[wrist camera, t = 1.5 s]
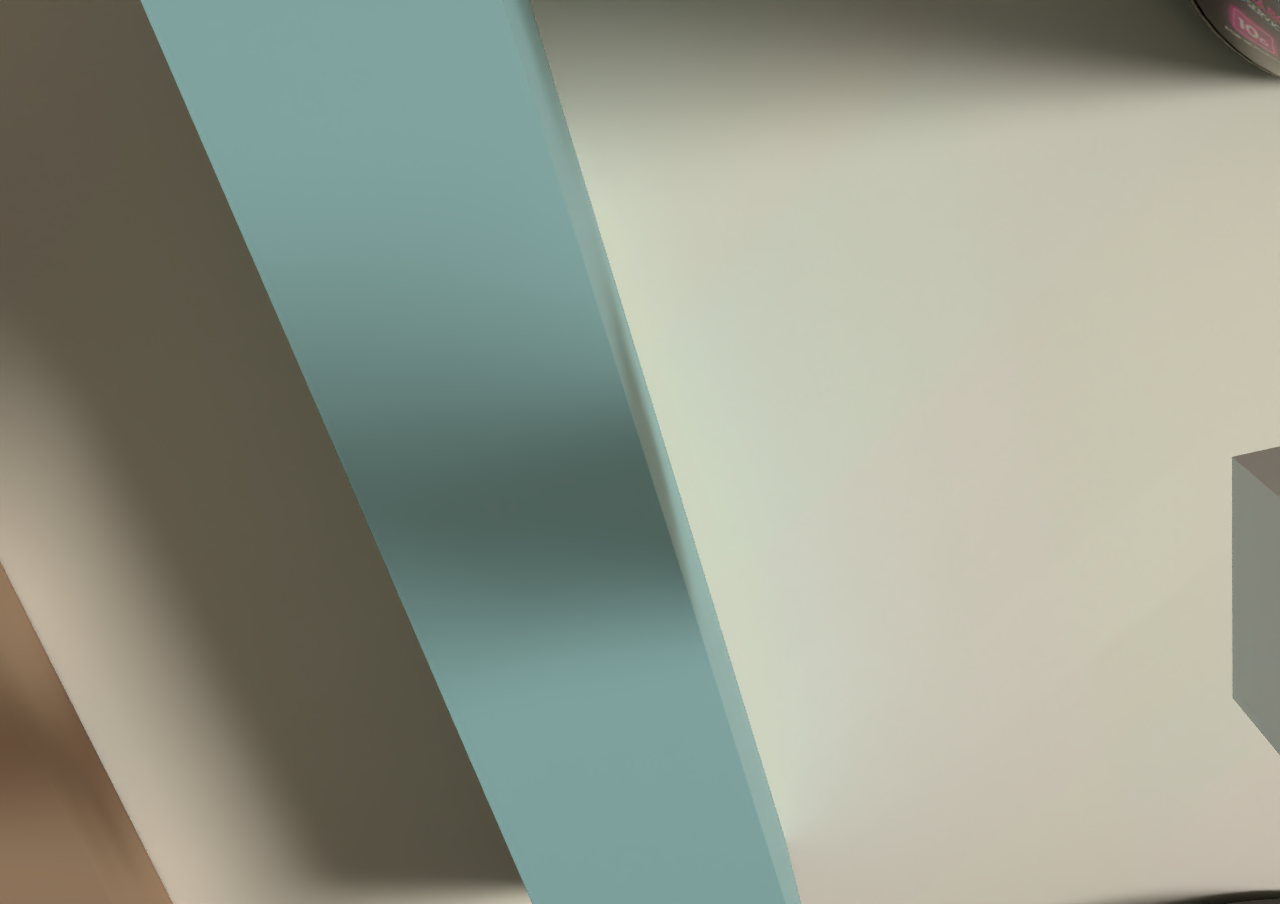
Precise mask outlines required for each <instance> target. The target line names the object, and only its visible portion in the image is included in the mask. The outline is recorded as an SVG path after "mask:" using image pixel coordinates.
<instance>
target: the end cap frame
mask: <svg viewBox="0 0 1280 904" xmlns="http://www.w3.org/2000/svg"><path fill="white" fill-rule="evenodd" d="M0 904H173V903H172V901H171V899H170V897H169V895H168V893H167V891H166V889H165V887H164V885H163V883H162V881H161V879H160V877H159V875H158V873H157V872H156V870H155V868H154V866H153V864H152V862H151V860H150V858H149V856H148V854H147V852H146V850H145V848H144V846H143V844H142V842H141V840H140V838H139V836H138V834H137V832H136V830H135V828H134V826H133V824H132V822H131V820H130V818H129V816H128V814H127V812H126V810H125V808H124V806H123V804H122V802H121V800H120V798H119V796H118V794H117V792H116V790H115V788H114V786H113V784H112V782H111V780H110V778H109V776H108V774H107V772H106V771H105V769H104V767H103V765H102V763H101V761H100V759H99V757H98V755H97V753H96V751H95V749H94V747H93V745H92V743H91V741H90V739H89V737H88V735H87V733H86V731H85V729H84V727H83V725H82V723H81V721H80V719H79V717H78V715H77V713H76V711H75V709H74V707H73V705H72V703H71V701H70V699H69V697H68V695H67V693H66V691H65V689H64V687H63V685H62V683H61V681H60V679H59V677H58V675H57V673H56V671H55V669H54V668H53V666H52V664H51V662H50V660H49V658H48V656H47V654H46V652H45V650H44V648H43V646H42V644H41V642H40V640H39V638H38V636H37V634H36V632H35V630H34V628H33V626H32V624H31V622H30V620H29V618H28V616H27V614H26V612H25V610H24V608H23V606H22V604H21V602H20V600H19V598H18V596H17V594H16V592H15V590H14V588H13V586H12V584H11V582H10V580H9V578H8V576H7V574H6V572H5V570H4V568H3V567H2V565H1V563H0Z"/></svg>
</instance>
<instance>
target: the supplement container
mask: <svg viewBox="0 0 1280 904" xmlns="http://www.w3.org/2000/svg"><path fill="white" fill-rule="evenodd" d="M1190 2H1191V4H1192V5H1193V7H1194V8H1195V10H1196V12H1197V13H1198V15H1199V16H1200V17H1201V18H1202V19H1203V21H1204V22H1205V23H1206V24H1207V26H1208V27H1209V28H1210V29H1211V31H1212V32H1213V33H1214V34H1215V35H1216V36H1217V37H1218V38H1219V39H1221V40H1222V41H1223V42H1224V43H1225V44H1226V45H1227V46H1228V47H1229V48H1230V49H1232V50H1233V51H1234V52H1236V53H1237V54H1238V55H1240V56H1241V57H1242V58H1244V59H1245V60H1246V61H1248V62H1250V63H1251V64H1253V65H1255V66H1257V67H1259V68H1260V69H1262V70H1264V71H1266V72H1268V73H1270V74H1273V75H1275V76H1278V77H1280V0H1190Z"/></svg>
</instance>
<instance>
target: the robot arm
mask: <svg viewBox="0 0 1280 904" xmlns="http://www.w3.org/2000/svg"><path fill="white" fill-rule="evenodd" d="M1232 612H1233V699H1234V700H1235V701H1236V702H1237V704H1238V705H1239V706H1240V707H1241V708H1242V710H1243V711H1244V712H1245V713H1246V715H1247V716H1248V717H1249V718H1250V719H1251V721H1252V722H1253V723H1254V724H1255V725H1256V727H1257V728H1258V729H1259V730H1260V732H1261V733H1262V734H1263V735H1264V736H1265V738H1266V739H1267V740H1268V741H1269V742H1270V744H1271V745H1272V746H1273V747H1274V748H1275V750H1276V751H1277V752H1278V753H1279V755H1280V447H1276V448H1271V449H1267V450H1262V451H1257V452H1253V453H1248V454H1244V455H1239V456H1234V457H1232ZM1228 904H1280V899H1267V900H1253V901H1244V902H1236V903H1228Z"/></svg>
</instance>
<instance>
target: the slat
mask: <svg viewBox="0 0 1280 904" xmlns="http://www.w3.org/2000/svg"><path fill="white" fill-rule="evenodd" d="M140 1H141V3H142V5H143V7H144V10H145V12H146V14H147V17H148V19H149V21H150V24H151V26H152V28H153V31H154V33H155V35H156V37H157V40H158V42H159V44H160V47H161V49H162V51H163V54H164V56H165V58H166V60H167V63H168V65H169V67H170V70H171V72H172V74H173V77H174V79H175V81H176V84H177V86H178V88H179V90H180V93H181V95H182V97H183V100H184V102H185V104H186V107H187V109H188V111H189V113H190V116H191V118H192V120H193V123H194V125H195V127H196V130H197V132H198V134H199V137H200V139H201V141H202V143H203V146H204V148H205V150H206V153H207V155H208V157H209V160H210V162H211V164H212V166H213V169H214V171H215V173H216V176H217V178H218V180H219V183H220V185H221V187H222V190H223V192H224V194H225V196H226V199H227V201H228V203H229V206H230V208H231V210H232V213H233V215H234V217H235V219H236V222H237V224H238V226H239V229H240V231H241V233H242V236H243V238H244V240H245V243H246V245H247V247H248V249H249V252H250V254H251V256H252V259H253V261H254V263H255V266H256V268H257V270H258V272H259V275H260V277H261V279H262V282H263V284H264V286H265V289H266V291H267V293H268V296H269V298H270V300H271V302H272V305H273V307H274V309H275V312H276V314H277V316H278V319H279V321H280V323H281V325H282V328H283V330H284V332H285V335H286V337H287V339H288V342H289V344H290V346H291V349H292V351H293V353H294V355H295V358H296V360H297V362H298V365H299V367H300V369H301V372H302V374H303V376H304V378H305V381H306V383H307V385H308V388H309V390H310V392H311V395H312V397H313V399H314V402H315V404H316V406H317V408H318V411H319V413H320V415H321V418H322V420H323V422H324V425H325V427H326V429H327V431H328V434H329V436H330V438H331V441H332V443H333V445H334V448H335V450H336V452H337V455H338V457H339V459H340V461H341V464H342V466H343V468H344V471H345V473H346V475H347V478H348V480H349V482H350V484H351V487H352V489H353V491H354V494H355V496H356V498H357V501H358V503H359V505H360V508H361V510H362V512H363V514H364V517H365V519H366V521H367V524H368V526H369V528H370V531H371V533H372V535H373V537H374V540H375V542H376V544H377V547H378V549H379V551H380V554H381V556H382V558H383V561H384V563H385V565H386V567H387V570H388V572H389V574H390V577H391V579H392V581H393V584H394V586H395V588H396V590H397V593H398V595H399V597H400V600H401V602H402V604H403V607H404V609H405V611H406V614H407V616H408V618H409V620H410V623H411V625H412V627H413V630H414V632H415V634H416V637H417V639H418V641H419V643H420V646H421V648H422V650H423V653H424V655H425V657H426V660H427V662H428V664H429V667H430V669H431V671H432V673H433V676H434V678H435V680H436V683H437V685H438V687H439V690H440V692H441V694H442V696H443V699H444V701H445V703H446V706H447V708H448V710H449V713H450V715H451V717H452V720H453V722H454V724H455V726H456V729H457V731H458V733H459V736H460V738H461V740H462V743H463V745H464V747H465V749H466V752H467V754H468V756H469V759H470V761H471V763H472V766H473V768H474V770H475V772H476V775H477V777H478V779H479V782H480V784H481V786H482V789H483V791H484V793H485V796H486V798H487V800H488V802H489V805H490V807H491V809H492V812H493V814H494V816H495V819H496V821H497V823H498V825H499V828H500V830H501V832H502V835H503V837H504V839H505V842H506V844H507V846H508V849H509V851H510V853H511V855H512V858H513V860H514V862H515V865H516V867H517V869H518V872H519V874H520V876H521V878H522V881H523V883H524V885H525V888H526V890H527V892H528V895H529V897H530V899H531V902H532V904H801V901H800V897H799V893H798V889H797V885H796V881H795V877H794V873H793V869H792V864H791V860H790V856H789V852H788V848H787V844H786V840H785V837H784V834H783V830H782V827H781V824H780V821H779V817H778V814H777V811H776V807H775V804H774V801H773V798H772V794H771V791H770V788H769V784H768V781H767V778H766V775H765V771H764V768H763V765H762V762H761V758H760V755H759V752H758V748H757V745H756V742H755V739H754V735H753V732H752V729H751V725H750V722H749V719H748V716H747V712H746V709H745V706H744V703H743V699H742V696H741V693H740V689H739V686H738V683H737V680H736V676H735V673H734V670H733V667H732V663H731V660H730V657H729V653H728V650H727V647H726V644H725V640H724V637H723V634H722V630H721V627H720V624H719V621H718V617H717V614H716V611H715V608H714V604H713V601H712V598H711V594H710V591H709V588H708V585H707V581H706V578H705V575H704V571H703V568H702V565H701V562H700V558H699V555H698V552H697V549H696V545H695V542H694V539H693V535H692V532H691V529H690V526H689V522H688V519H687V516H686V512H685V509H684V506H683V503H682V499H681V496H680V493H679V490H678V486H677V483H676V480H675V476H674V473H673V470H672V467H671V463H670V460H669V457H668V453H667V450H666V447H665V444H664V440H663V437H662V434H661V431H660V427H659V424H658V421H657V417H656V414H655V411H654V408H653V404H652V401H651V398H650V395H649V391H648V388H647V385H646V381H645V378H644V375H643V372H642V368H641V365H640V362H639V358H638V355H637V352H636V349H635V345H634V342H633V339H632V336H631V332H630V329H629V326H628V322H627V319H626V316H625V313H624V309H623V306H622V303H621V299H620V296H619V293H618V290H617V286H616V283H615V280H614V277H613V273H612V270H611V267H610V263H609V260H608V257H607V254H606V250H605V247H604V244H603V240H602V237H601V234H600V231H599V227H598V224H597V221H596V218H595V214H594V211H593V208H592V204H591V201H590V198H589V195H588V191H587V188H586V185H585V181H584V178H583V175H582V172H581V168H580V165H579V162H578V159H577V155H576V152H575V149H574V145H573V142H572V139H571V136H570V132H569V129H568V126H567V122H566V119H565V116H564V113H563V109H562V106H561V103H560V100H559V96H558V93H557V90H556V86H555V83H554V80H553V77H552V73H551V70H550V67H549V64H548V60H547V57H546V54H545V50H544V47H543V44H542V41H541V37H540V34H539V31H538V27H537V24H536V21H535V18H534V14H533V11H532V8H531V5H530V1H529V0H140Z"/></svg>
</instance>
